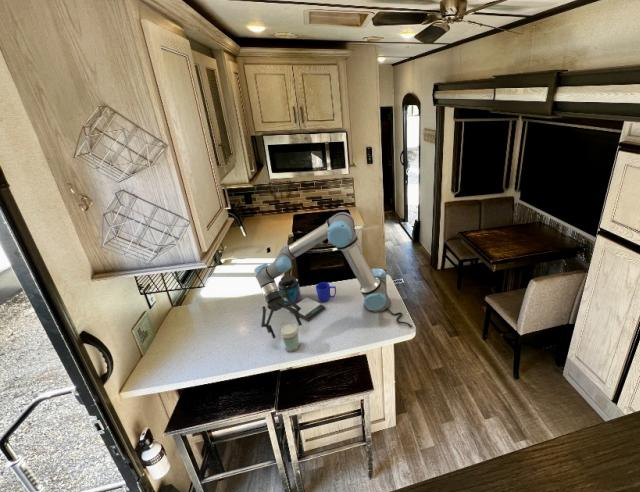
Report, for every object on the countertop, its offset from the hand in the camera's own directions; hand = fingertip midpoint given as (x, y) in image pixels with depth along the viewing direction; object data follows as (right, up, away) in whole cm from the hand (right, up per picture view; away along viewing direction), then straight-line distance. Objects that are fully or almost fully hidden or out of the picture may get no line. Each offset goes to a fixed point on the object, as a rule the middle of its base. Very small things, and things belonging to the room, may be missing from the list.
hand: (287, 331), depth 165 cm
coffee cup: (+2, -9, +2) cm, 9 cm away
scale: (+2, +3, +28) cm, 28 cm away
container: (-11, +6, +37) cm, 39 cm away
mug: (+12, +7, +38) cm, 40 cm away
